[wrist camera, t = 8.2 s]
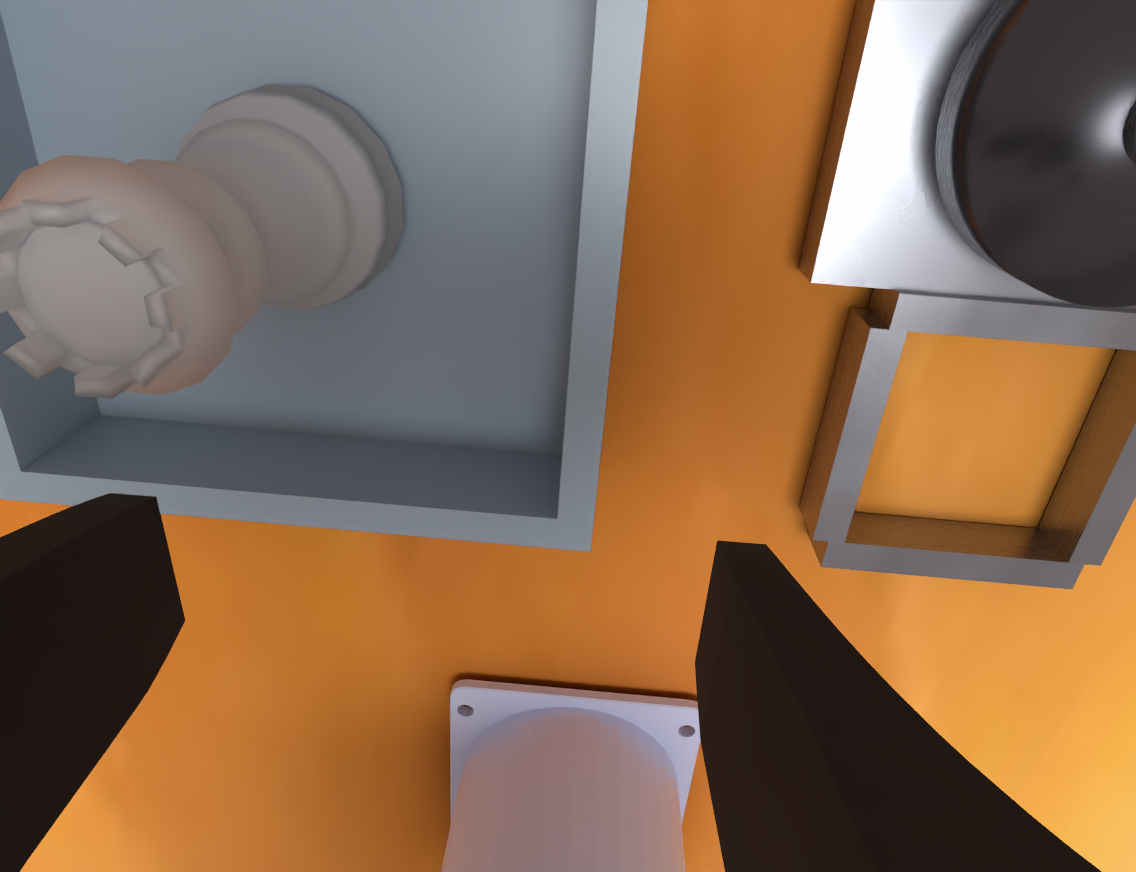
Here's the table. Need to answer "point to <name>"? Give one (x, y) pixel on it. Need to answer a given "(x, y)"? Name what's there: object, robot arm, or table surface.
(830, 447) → the pulley bracket
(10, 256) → the rook chess piece
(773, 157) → the table surface
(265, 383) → the tray
